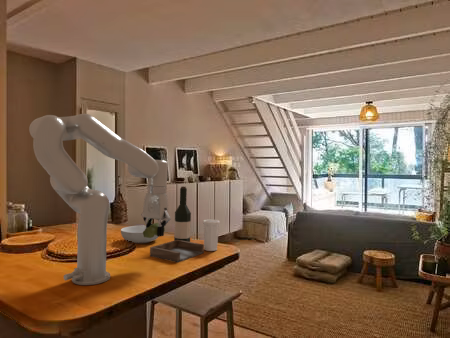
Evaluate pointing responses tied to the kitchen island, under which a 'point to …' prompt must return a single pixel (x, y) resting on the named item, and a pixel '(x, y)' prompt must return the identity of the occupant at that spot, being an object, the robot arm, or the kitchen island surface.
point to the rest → (176, 250)
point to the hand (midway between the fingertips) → (154, 234)
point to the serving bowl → (136, 234)
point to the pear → (151, 230)
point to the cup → (211, 234)
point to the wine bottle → (182, 218)
